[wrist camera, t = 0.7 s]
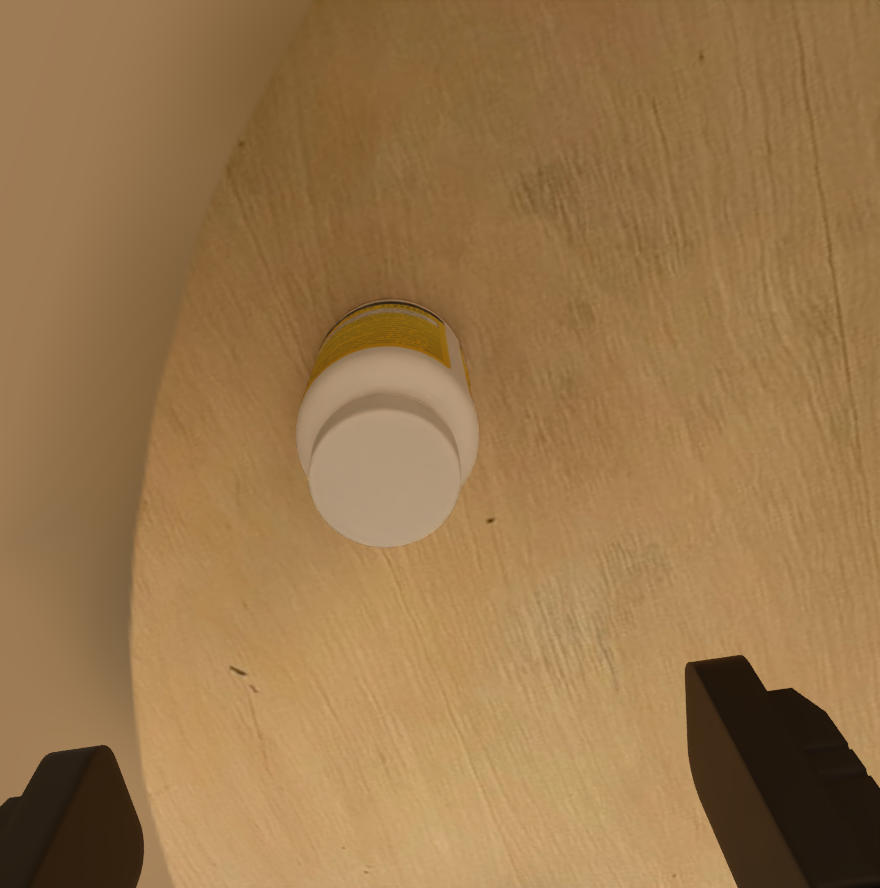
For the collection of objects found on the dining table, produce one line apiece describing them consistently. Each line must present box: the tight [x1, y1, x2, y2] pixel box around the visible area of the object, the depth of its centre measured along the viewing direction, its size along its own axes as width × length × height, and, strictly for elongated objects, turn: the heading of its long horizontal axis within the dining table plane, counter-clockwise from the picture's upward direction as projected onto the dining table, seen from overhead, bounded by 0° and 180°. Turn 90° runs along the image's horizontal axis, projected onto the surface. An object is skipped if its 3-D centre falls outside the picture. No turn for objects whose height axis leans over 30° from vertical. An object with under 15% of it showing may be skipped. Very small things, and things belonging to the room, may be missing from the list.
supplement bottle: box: [296, 299, 479, 548], centre depth 26 cm, size 5×5×10 cm
